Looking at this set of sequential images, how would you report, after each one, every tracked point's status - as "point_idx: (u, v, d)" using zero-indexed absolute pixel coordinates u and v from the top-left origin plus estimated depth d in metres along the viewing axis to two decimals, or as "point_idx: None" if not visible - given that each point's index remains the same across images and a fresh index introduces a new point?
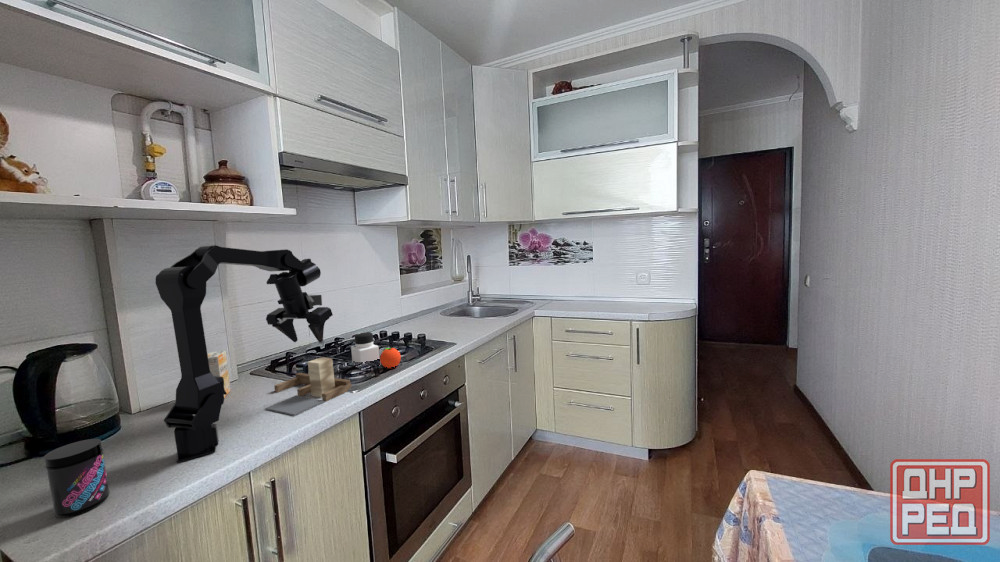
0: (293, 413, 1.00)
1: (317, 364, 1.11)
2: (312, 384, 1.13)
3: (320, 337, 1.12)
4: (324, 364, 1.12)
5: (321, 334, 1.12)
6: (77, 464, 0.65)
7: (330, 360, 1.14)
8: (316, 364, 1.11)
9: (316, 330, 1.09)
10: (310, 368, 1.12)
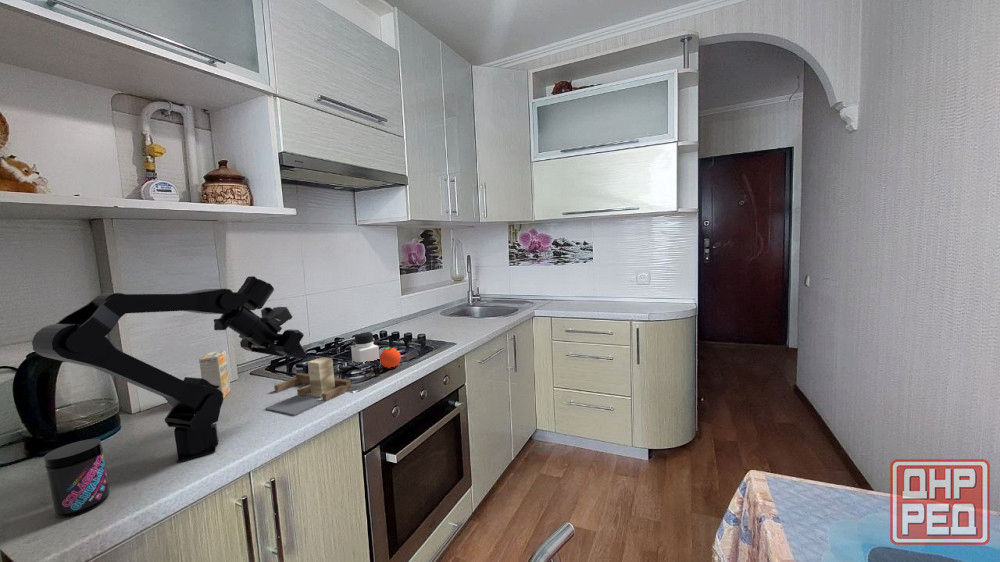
0: (293, 413, 1.00)
1: (317, 364, 1.11)
2: (312, 384, 1.13)
3: (302, 355, 1.02)
4: (324, 364, 1.12)
5: (302, 352, 1.02)
6: (77, 464, 0.65)
7: (330, 360, 1.14)
8: (316, 364, 1.11)
9: (293, 355, 0.99)
10: (310, 368, 1.12)
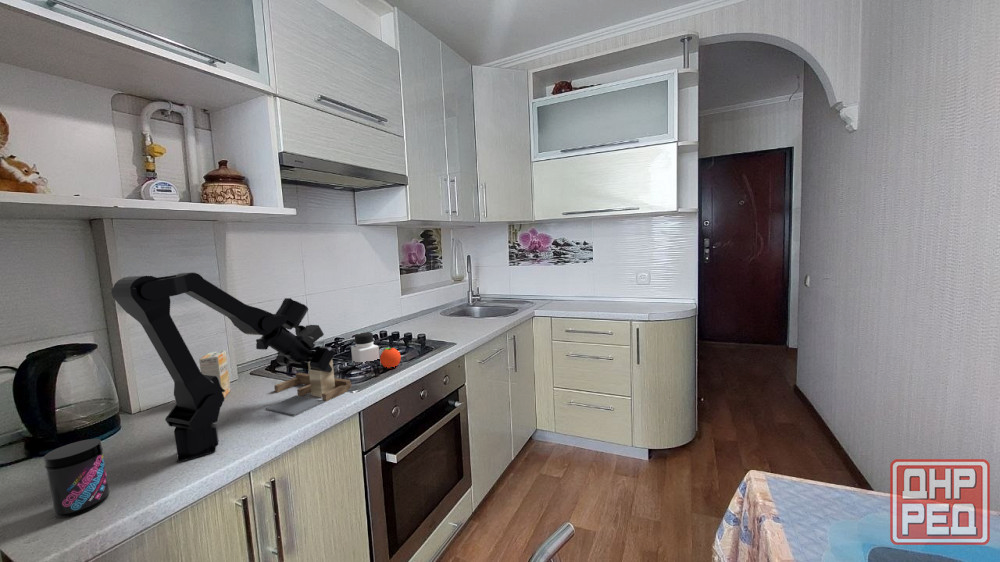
0: (293, 413, 1.00)
1: None
2: (312, 383, 1.13)
3: (328, 369, 1.12)
4: None
5: (328, 366, 1.12)
6: (77, 464, 0.65)
7: None
8: None
9: None
10: (310, 368, 1.12)
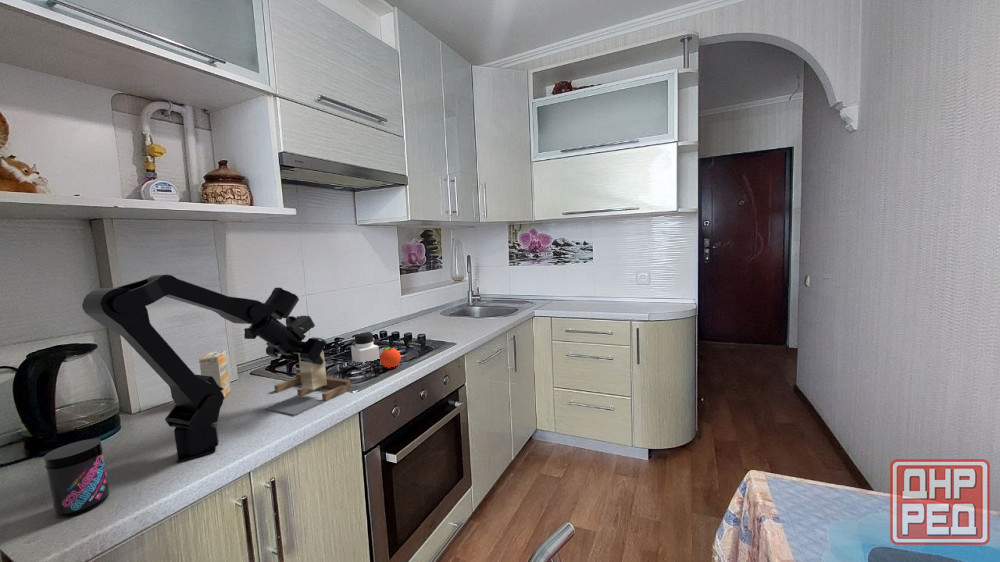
0: (293, 413, 1.00)
1: None
2: (302, 376, 1.10)
3: (319, 361, 1.09)
4: None
5: (318, 358, 1.09)
6: (77, 464, 0.65)
7: (321, 352, 1.11)
8: None
9: None
10: None
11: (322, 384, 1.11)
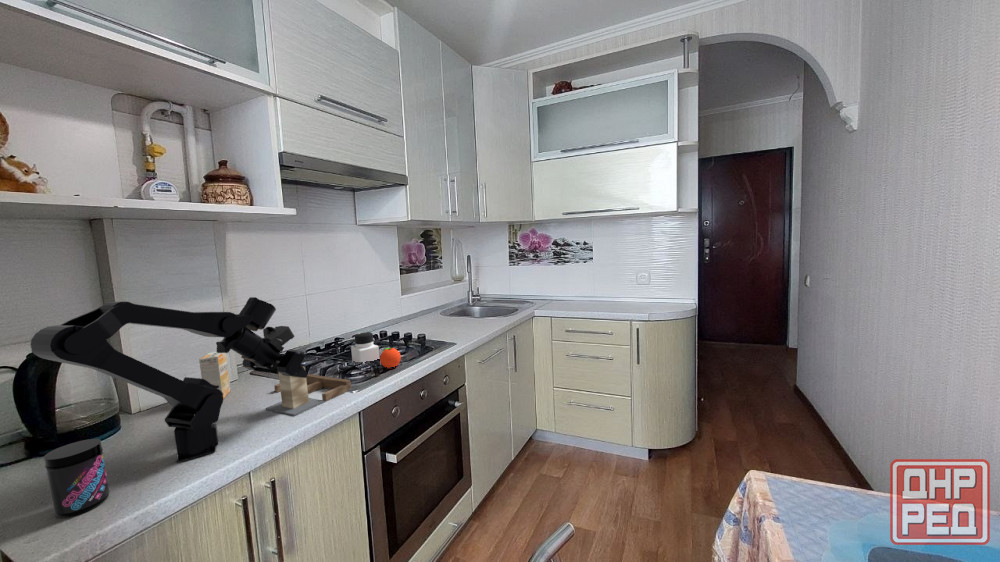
0: (293, 413, 1.00)
1: None
2: (282, 394, 1.05)
3: (302, 374, 1.03)
4: None
5: (302, 371, 1.03)
6: (77, 464, 0.65)
7: None
8: None
9: (293, 374, 1.00)
10: (281, 377, 1.04)
11: (304, 402, 1.06)
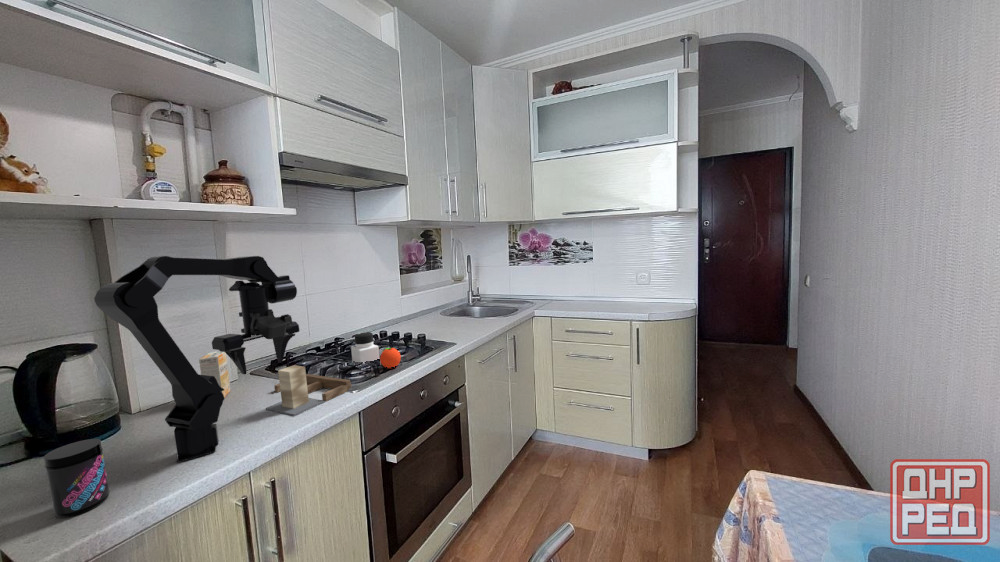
0: (293, 413, 1.00)
1: (288, 373, 1.03)
2: (282, 394, 1.05)
3: (239, 368, 0.94)
4: (295, 373, 1.04)
5: (239, 365, 0.93)
6: (77, 464, 0.65)
7: (303, 368, 1.06)
8: (287, 373, 1.03)
9: (229, 356, 0.93)
10: (281, 377, 1.04)
11: (304, 402, 1.06)
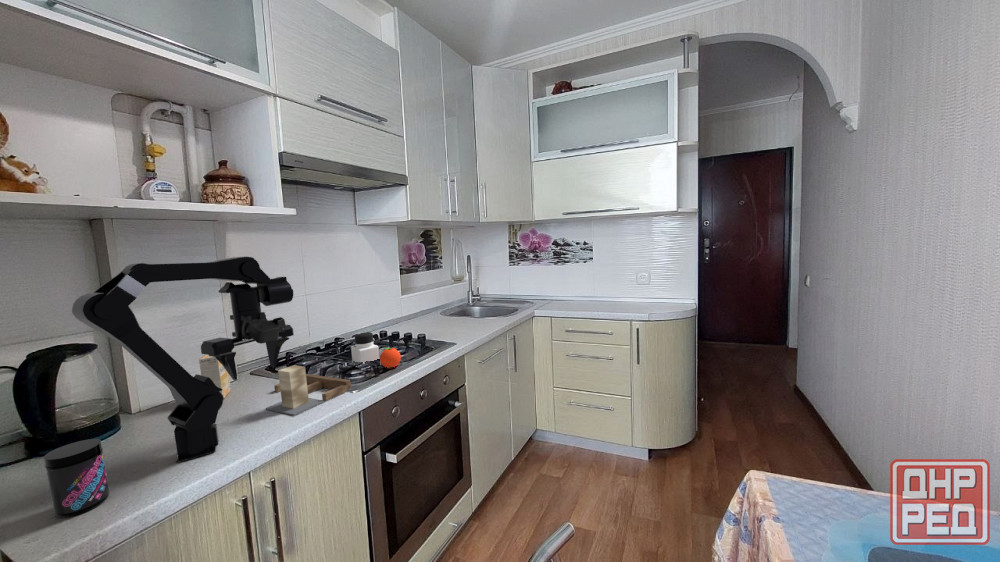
0: (293, 413, 1.00)
1: (288, 373, 1.03)
2: (282, 394, 1.05)
3: (229, 373, 0.90)
4: (295, 373, 1.04)
5: (229, 371, 0.89)
6: (77, 464, 0.65)
7: (303, 368, 1.06)
8: (287, 373, 1.03)
9: (220, 361, 0.89)
10: (281, 377, 1.04)
11: (304, 402, 1.06)
